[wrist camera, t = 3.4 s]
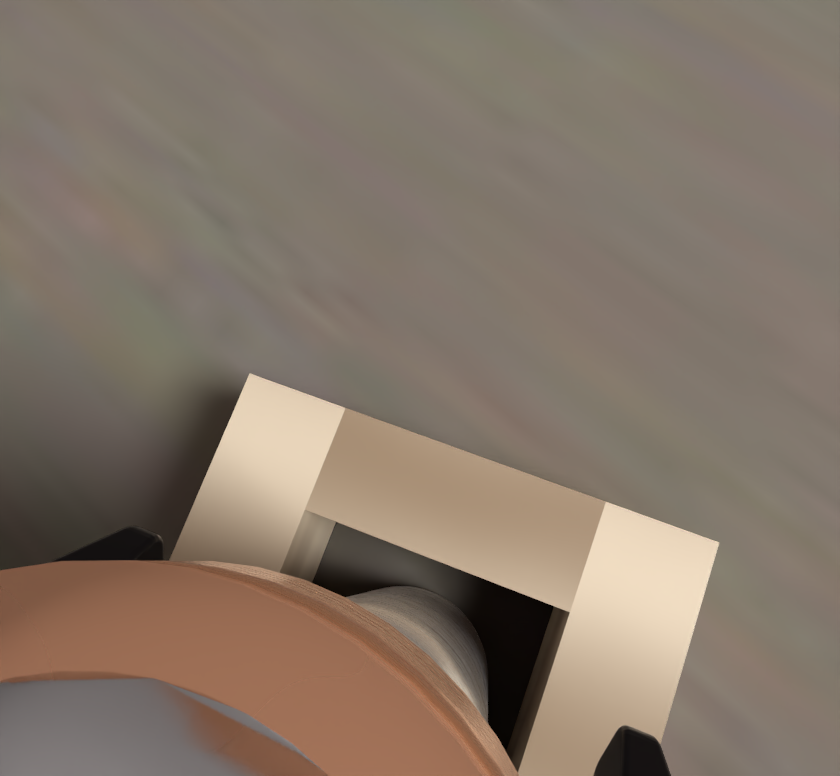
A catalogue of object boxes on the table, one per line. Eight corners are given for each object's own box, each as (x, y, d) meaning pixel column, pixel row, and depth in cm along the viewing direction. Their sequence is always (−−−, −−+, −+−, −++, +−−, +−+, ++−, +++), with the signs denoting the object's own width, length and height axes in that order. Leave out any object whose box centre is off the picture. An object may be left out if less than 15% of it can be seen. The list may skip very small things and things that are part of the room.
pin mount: (538, 1003, 14) (550, 1117, 11) (123, 805, 16) (40, 860, 13) (676, 546, 16) (719, 542, 13) (290, 405, 17) (249, 373, 14)
